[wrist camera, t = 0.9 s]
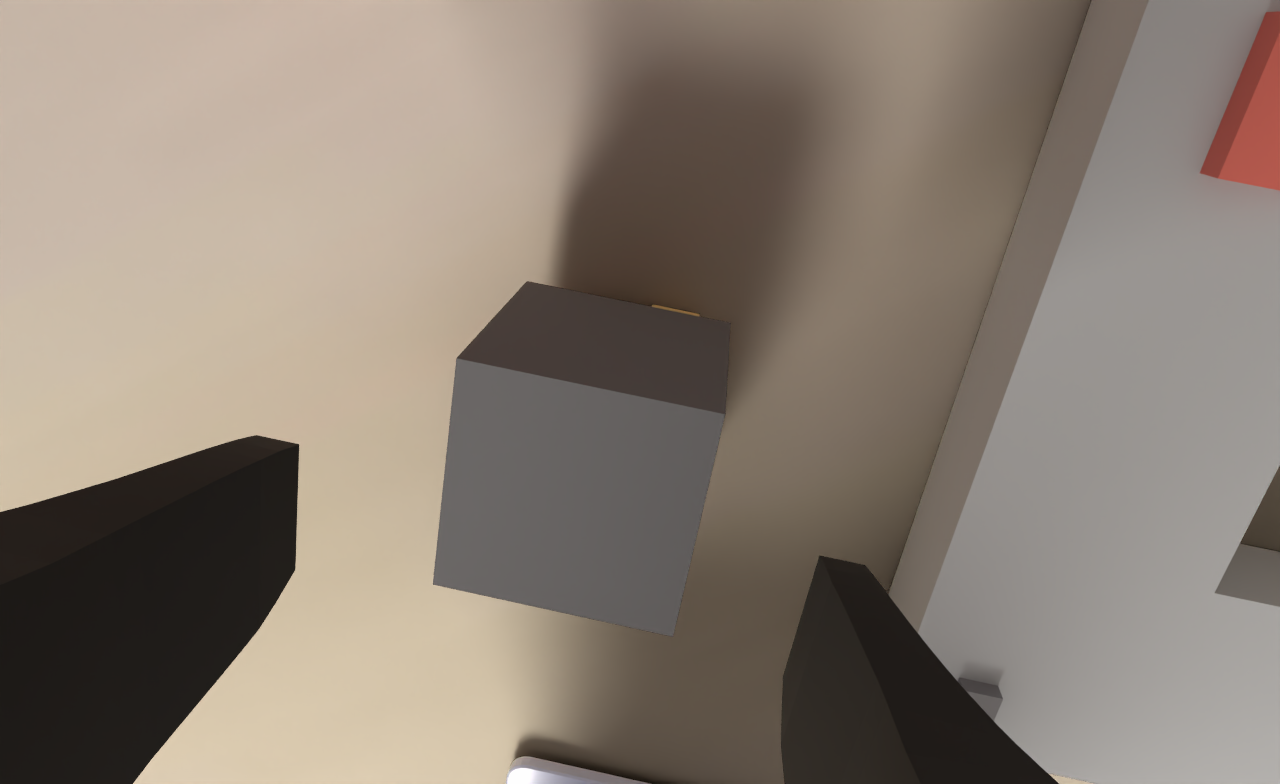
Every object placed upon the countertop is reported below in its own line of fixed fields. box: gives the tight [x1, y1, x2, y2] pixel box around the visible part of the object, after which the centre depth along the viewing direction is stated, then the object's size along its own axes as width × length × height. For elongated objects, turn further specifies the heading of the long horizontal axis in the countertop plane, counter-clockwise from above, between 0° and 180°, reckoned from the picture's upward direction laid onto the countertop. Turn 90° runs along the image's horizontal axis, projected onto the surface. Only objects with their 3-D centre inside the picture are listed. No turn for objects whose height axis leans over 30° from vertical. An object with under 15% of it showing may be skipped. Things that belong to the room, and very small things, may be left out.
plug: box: [433, 281, 731, 637], centre depth 16 cm, size 4×4×6 cm
